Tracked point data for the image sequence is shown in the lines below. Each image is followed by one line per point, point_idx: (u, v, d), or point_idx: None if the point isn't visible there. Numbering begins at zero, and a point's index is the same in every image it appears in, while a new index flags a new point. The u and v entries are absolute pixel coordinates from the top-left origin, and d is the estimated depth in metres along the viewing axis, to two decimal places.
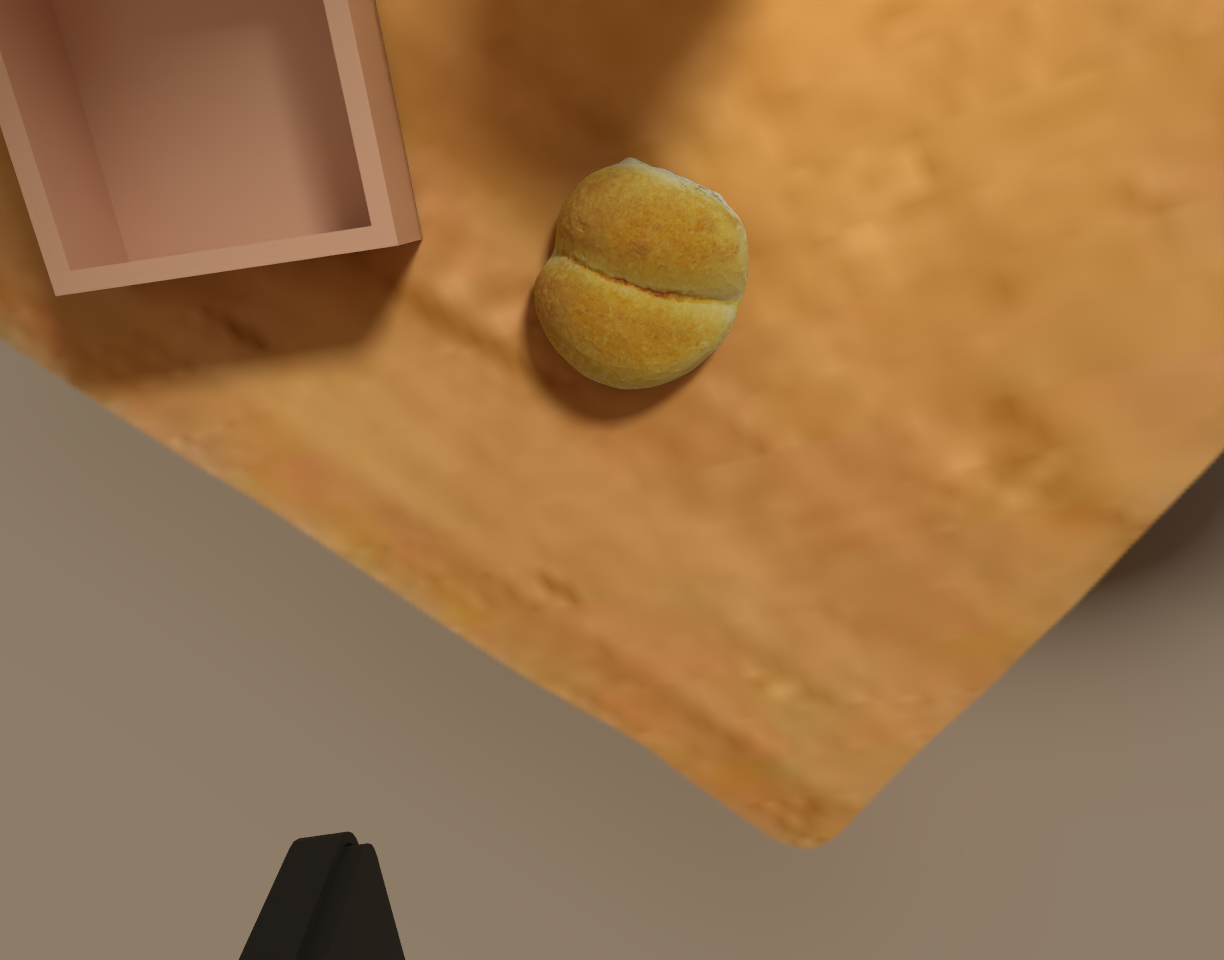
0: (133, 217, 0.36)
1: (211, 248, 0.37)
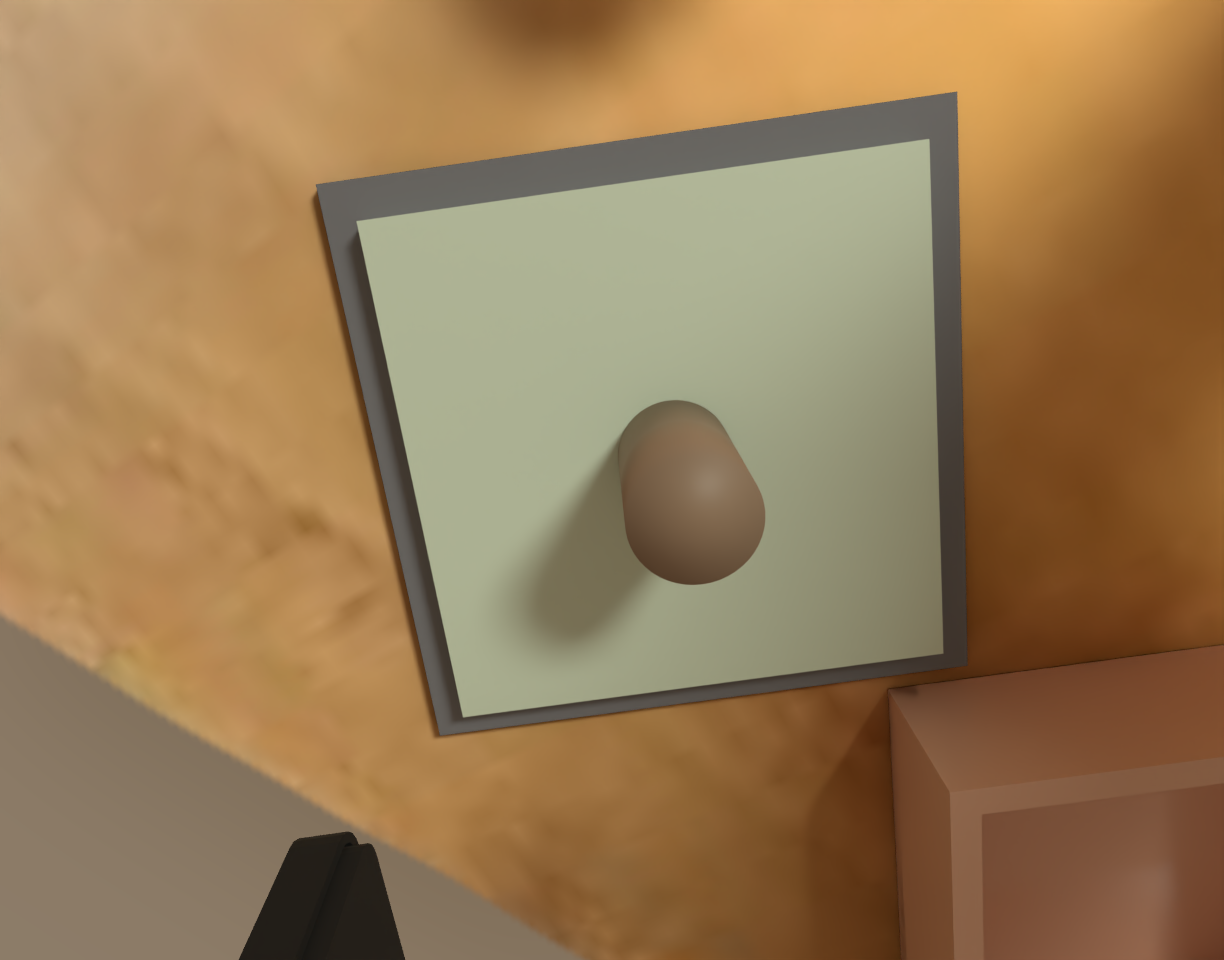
0: None
1: None
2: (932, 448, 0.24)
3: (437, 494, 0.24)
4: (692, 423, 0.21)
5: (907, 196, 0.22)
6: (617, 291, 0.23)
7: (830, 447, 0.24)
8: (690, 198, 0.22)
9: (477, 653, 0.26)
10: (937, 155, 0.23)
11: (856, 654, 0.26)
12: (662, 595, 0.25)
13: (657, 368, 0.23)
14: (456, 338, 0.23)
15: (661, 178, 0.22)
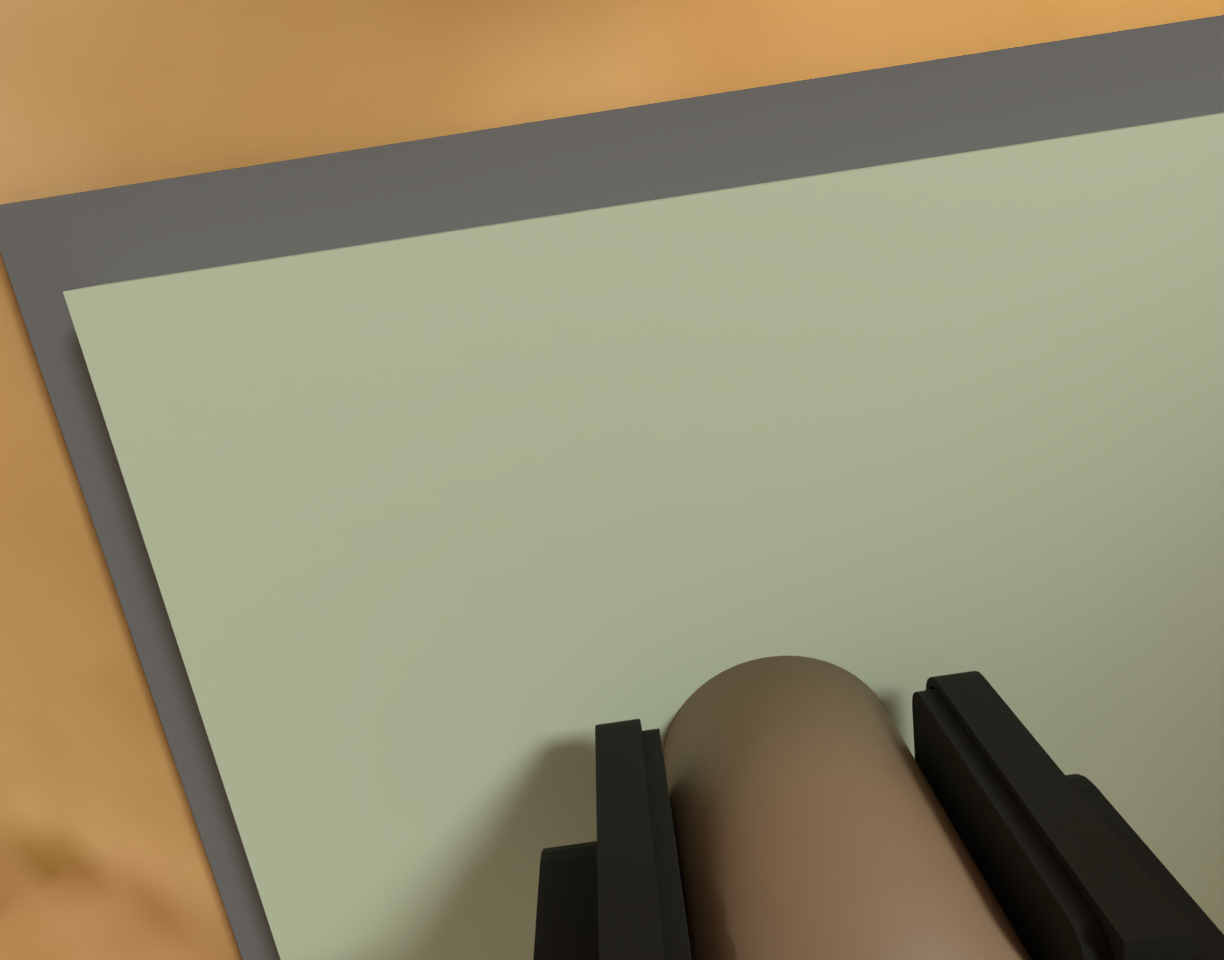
0: None
1: None
2: None
3: (290, 840, 0.12)
4: (855, 780, 0.09)
5: None
6: (662, 436, 0.10)
7: (1102, 739, 0.12)
8: (831, 231, 0.10)
9: None
10: None
11: None
12: None
13: (748, 594, 0.11)
14: (309, 540, 0.10)
15: (766, 186, 0.09)
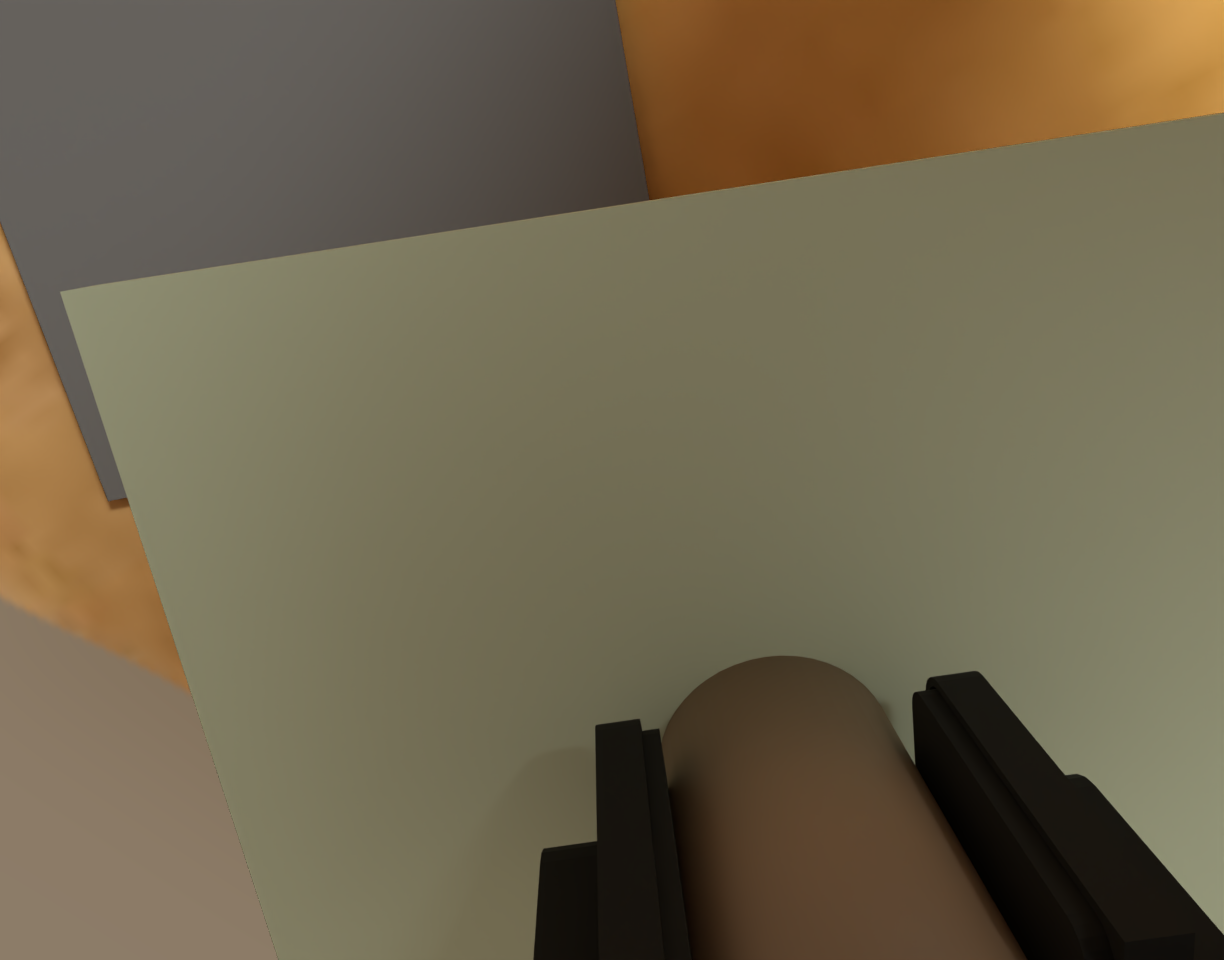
0: None
1: None
2: None
3: (288, 840, 0.12)
4: (852, 780, 0.09)
5: None
6: (658, 436, 0.10)
7: (1099, 740, 0.12)
8: (828, 232, 0.10)
9: None
10: None
11: None
12: None
13: (745, 594, 0.11)
14: (307, 540, 0.10)
15: (763, 186, 0.09)
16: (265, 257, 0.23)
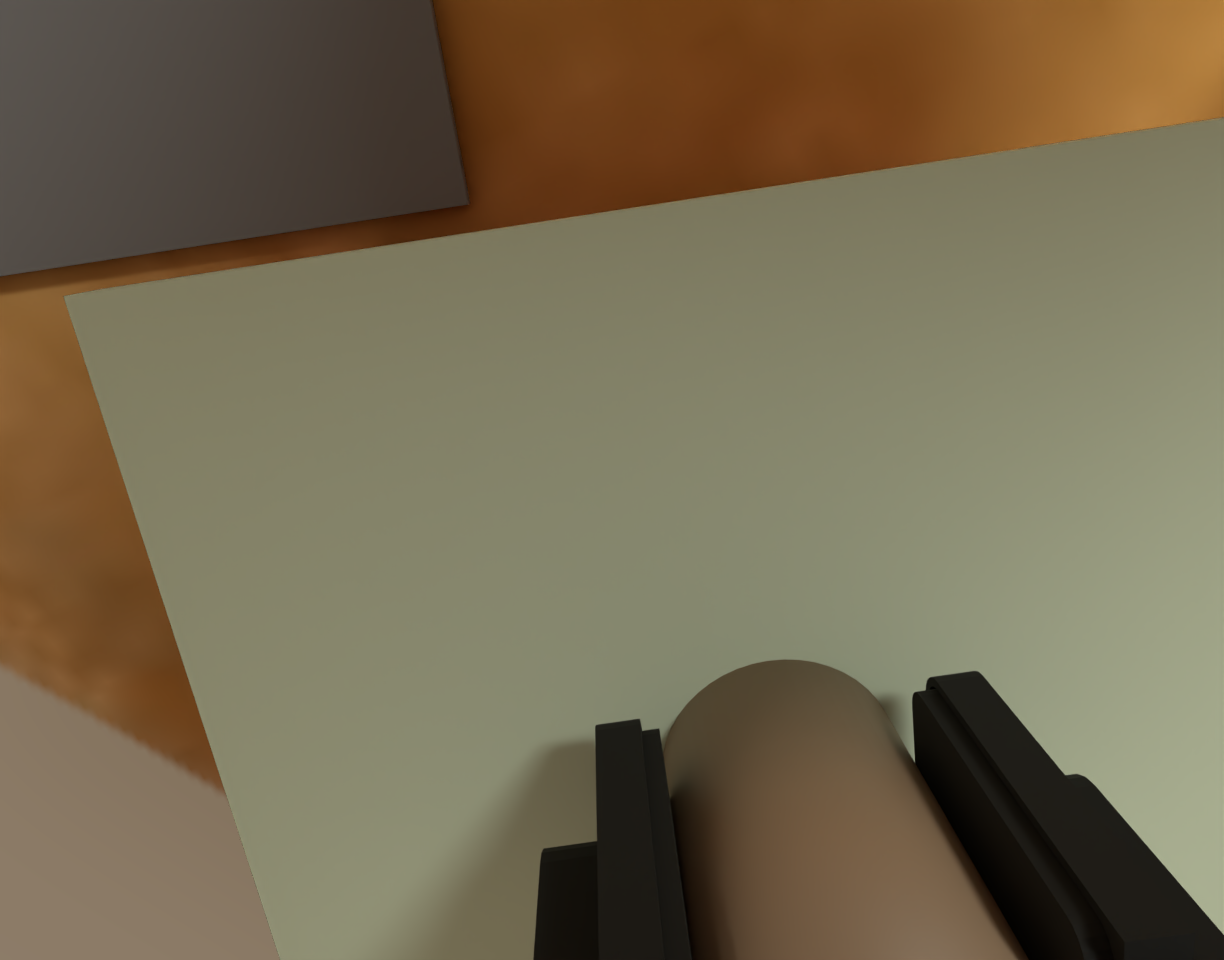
0: None
1: None
2: None
3: (290, 845, 0.12)
4: (856, 784, 0.09)
5: None
6: (662, 441, 0.10)
7: (1102, 743, 0.12)
8: (831, 236, 0.10)
9: None
10: None
11: None
12: None
13: (747, 597, 0.11)
14: (310, 544, 0.10)
15: (766, 191, 0.09)
16: None
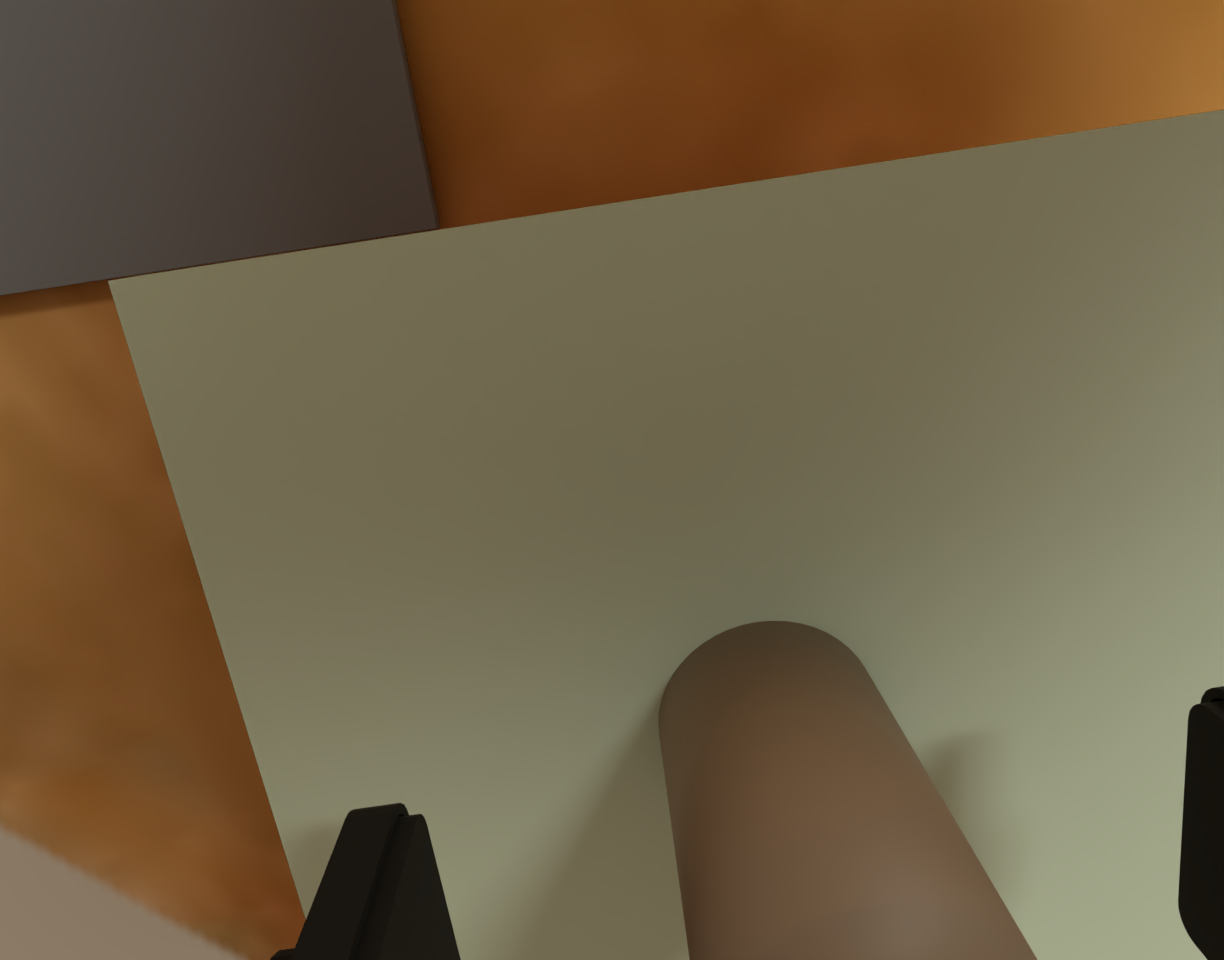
0: None
1: None
2: None
3: (311, 796, 0.13)
4: (834, 725, 0.10)
5: None
6: (658, 415, 0.11)
7: (1069, 701, 0.12)
8: (814, 226, 0.10)
9: None
10: None
11: None
12: None
13: (739, 562, 0.12)
14: (332, 512, 0.11)
15: (754, 184, 0.10)
16: None
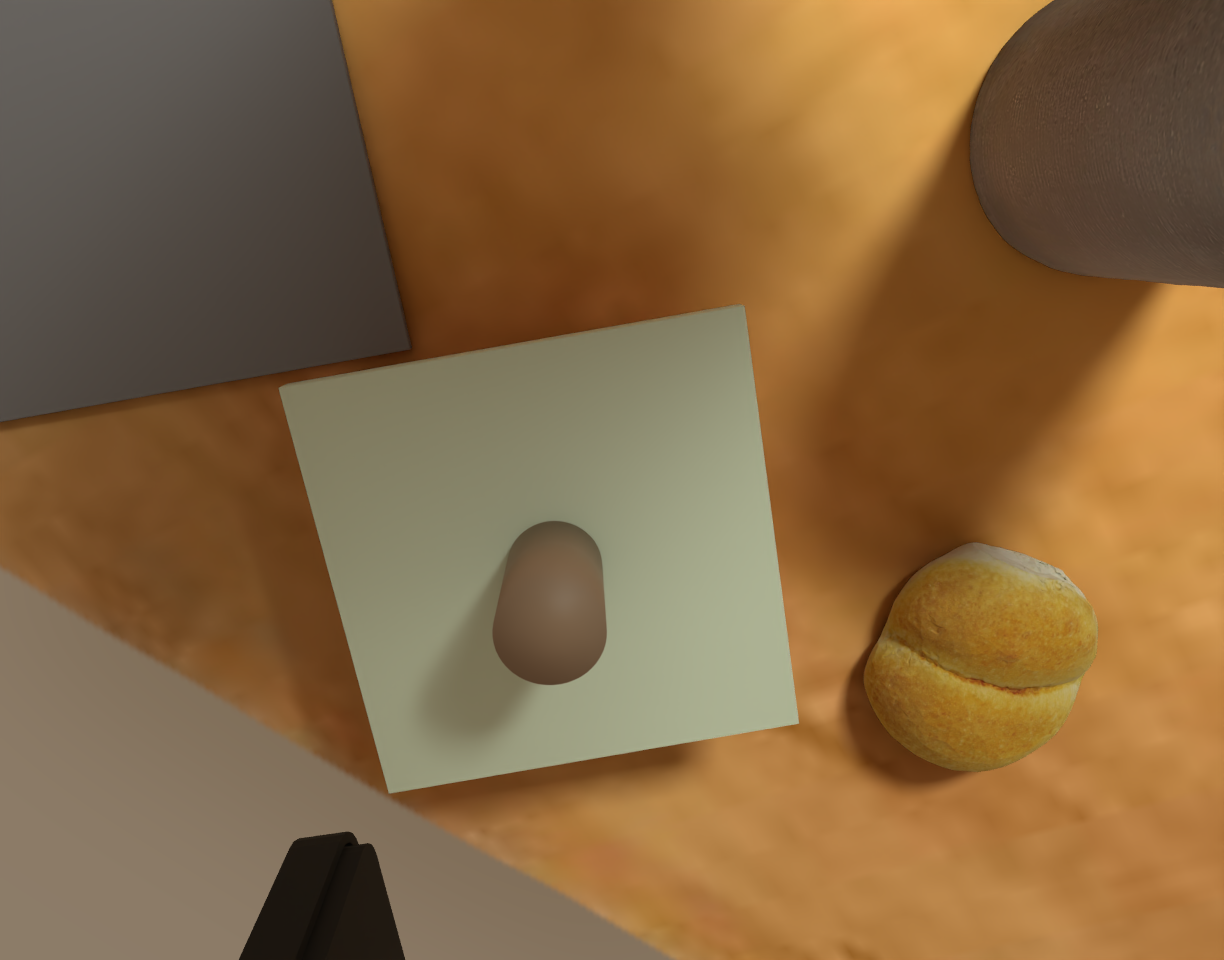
0: None
1: None
2: (772, 552, 0.29)
3: (357, 606, 0.29)
4: (556, 547, 0.26)
5: (731, 351, 0.27)
6: (497, 435, 0.27)
7: (685, 554, 0.29)
8: (552, 359, 0.27)
9: (398, 738, 0.30)
10: None
11: (724, 727, 0.30)
12: None
13: (535, 495, 0.28)
14: (365, 478, 0.28)
15: (527, 345, 0.27)
16: (88, 241, 0.31)
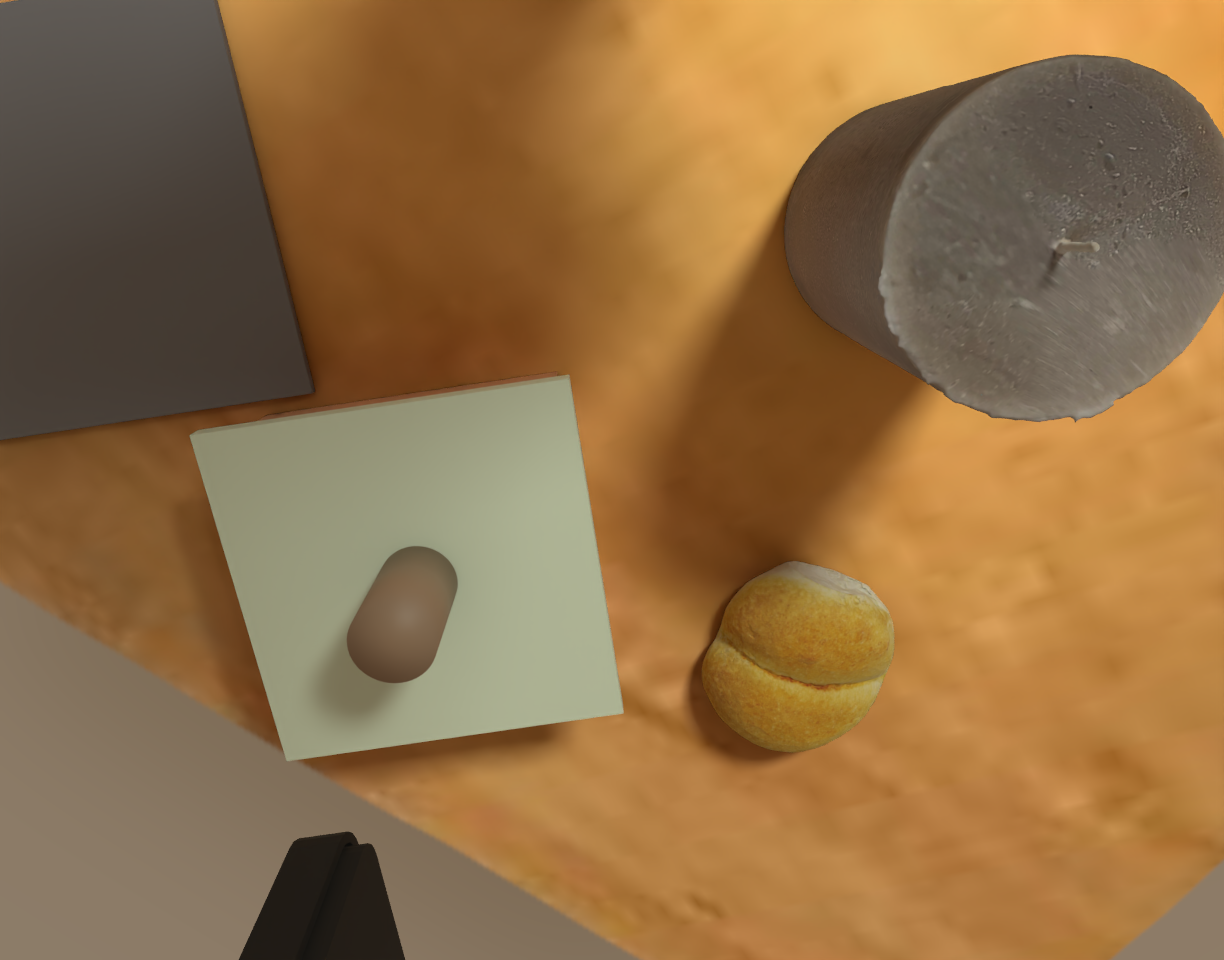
0: None
1: None
2: (597, 575, 0.35)
3: (257, 610, 0.35)
4: (408, 571, 0.32)
5: (558, 414, 0.33)
6: (368, 476, 0.34)
7: (526, 575, 0.35)
8: (412, 417, 0.33)
9: (293, 717, 0.36)
10: (202, 14, 0.34)
11: (561, 714, 0.37)
12: (420, 675, 0.36)
13: (401, 525, 0.34)
14: (262, 508, 0.34)
15: (391, 405, 0.33)
16: (41, 298, 0.37)
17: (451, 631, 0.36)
